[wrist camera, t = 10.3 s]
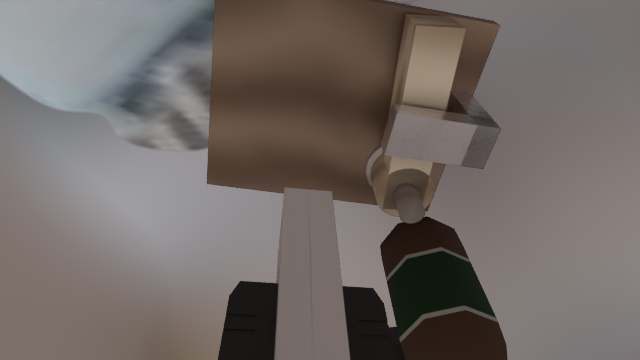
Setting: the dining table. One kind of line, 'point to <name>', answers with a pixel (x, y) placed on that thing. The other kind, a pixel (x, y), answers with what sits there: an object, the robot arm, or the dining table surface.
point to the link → (420, 91)
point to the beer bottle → (438, 296)
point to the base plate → (313, 90)
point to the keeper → (439, 134)
